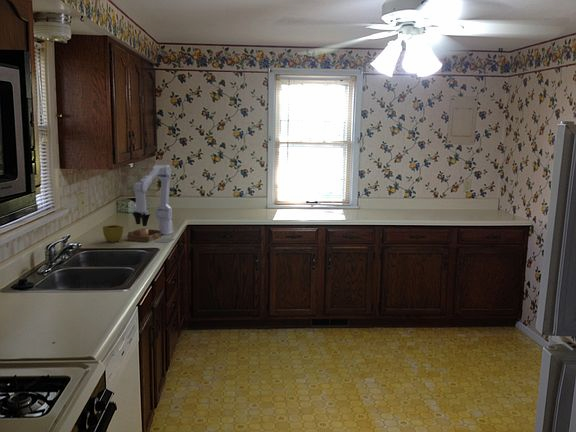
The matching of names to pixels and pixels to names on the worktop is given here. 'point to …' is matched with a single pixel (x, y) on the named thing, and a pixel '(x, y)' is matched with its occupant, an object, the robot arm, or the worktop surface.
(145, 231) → the seedling pot
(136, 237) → the wooden square frame
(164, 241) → the rubber mat
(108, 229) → the flower pot
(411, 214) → the worktop surface
